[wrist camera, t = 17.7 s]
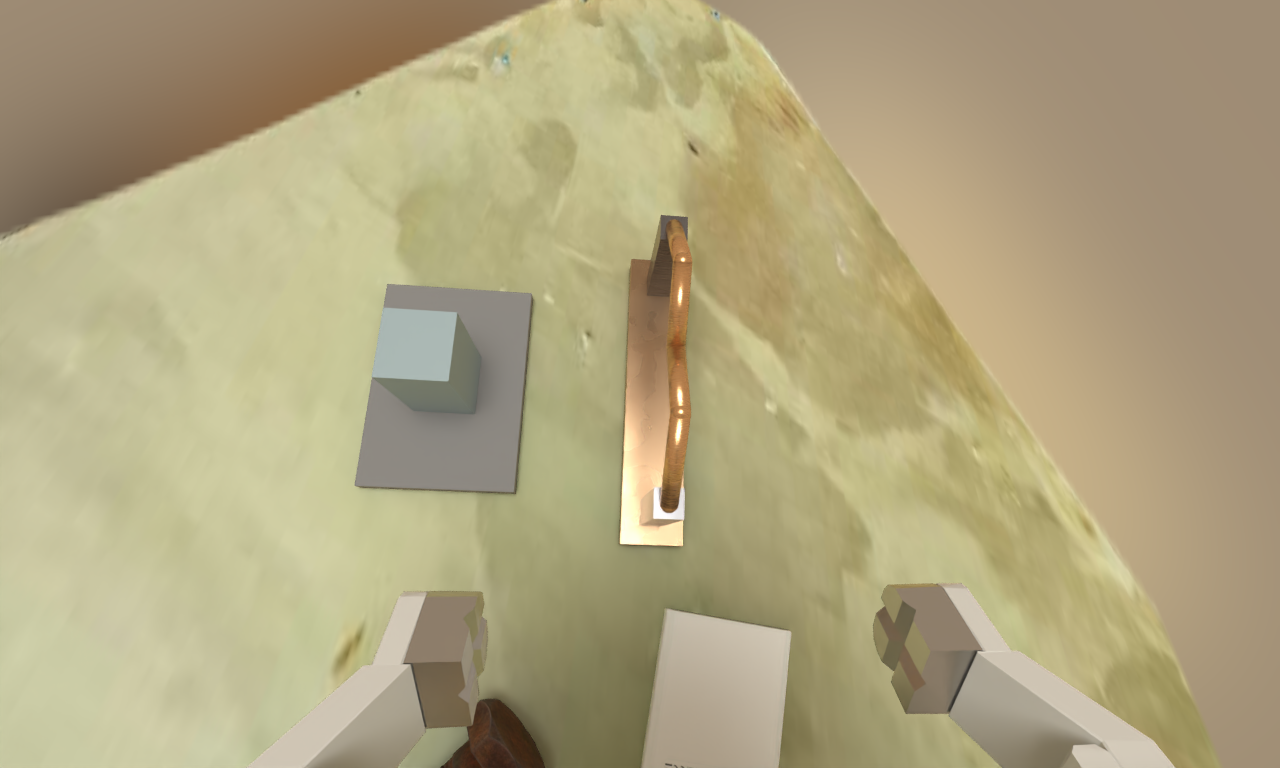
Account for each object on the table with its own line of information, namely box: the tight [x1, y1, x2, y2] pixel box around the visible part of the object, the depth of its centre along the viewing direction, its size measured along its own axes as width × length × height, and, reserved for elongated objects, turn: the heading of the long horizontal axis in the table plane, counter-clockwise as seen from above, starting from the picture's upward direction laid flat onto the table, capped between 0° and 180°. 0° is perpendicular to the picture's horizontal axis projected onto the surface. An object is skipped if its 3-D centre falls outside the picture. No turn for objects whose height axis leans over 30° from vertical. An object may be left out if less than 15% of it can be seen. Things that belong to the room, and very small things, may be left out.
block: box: [372, 308, 481, 414], centre depth 36 cm, size 4×4×8 cm
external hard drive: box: [641, 608, 791, 768], centre depth 36 cm, size 2×8×12 cm
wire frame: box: [619, 215, 692, 546], centre depth 35 cm, size 20×4×14 cm, turn 178°
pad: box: [355, 284, 533, 494], centre depth 40 cm, size 14×10×1 cm
